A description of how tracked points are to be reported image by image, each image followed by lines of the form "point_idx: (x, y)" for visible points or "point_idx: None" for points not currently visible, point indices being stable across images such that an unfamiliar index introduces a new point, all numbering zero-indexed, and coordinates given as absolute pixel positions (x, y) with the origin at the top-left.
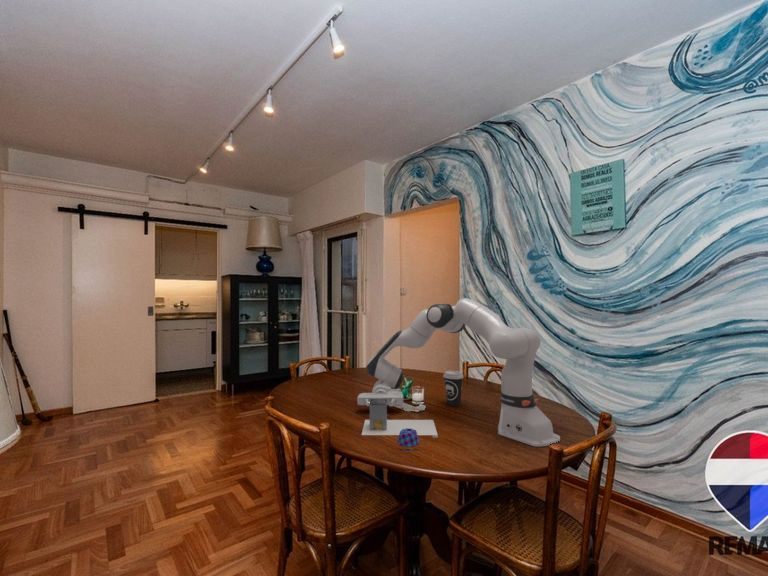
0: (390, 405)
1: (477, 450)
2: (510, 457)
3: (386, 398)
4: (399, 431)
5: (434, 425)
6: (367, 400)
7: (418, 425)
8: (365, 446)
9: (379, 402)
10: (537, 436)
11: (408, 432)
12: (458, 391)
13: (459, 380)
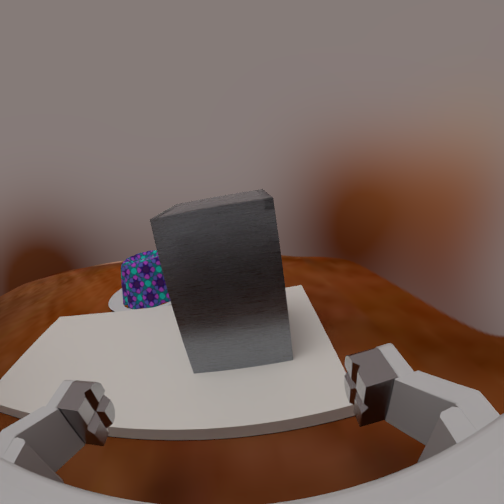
0: (100, 403)
1: (43, 298)
2: (26, 291)
3: (71, 489)
4: (153, 322)
5: (17, 361)
6: (426, 389)
7: (59, 364)
8: None
9: (209, 200)
10: None
11: (144, 259)
12: None
13: None
